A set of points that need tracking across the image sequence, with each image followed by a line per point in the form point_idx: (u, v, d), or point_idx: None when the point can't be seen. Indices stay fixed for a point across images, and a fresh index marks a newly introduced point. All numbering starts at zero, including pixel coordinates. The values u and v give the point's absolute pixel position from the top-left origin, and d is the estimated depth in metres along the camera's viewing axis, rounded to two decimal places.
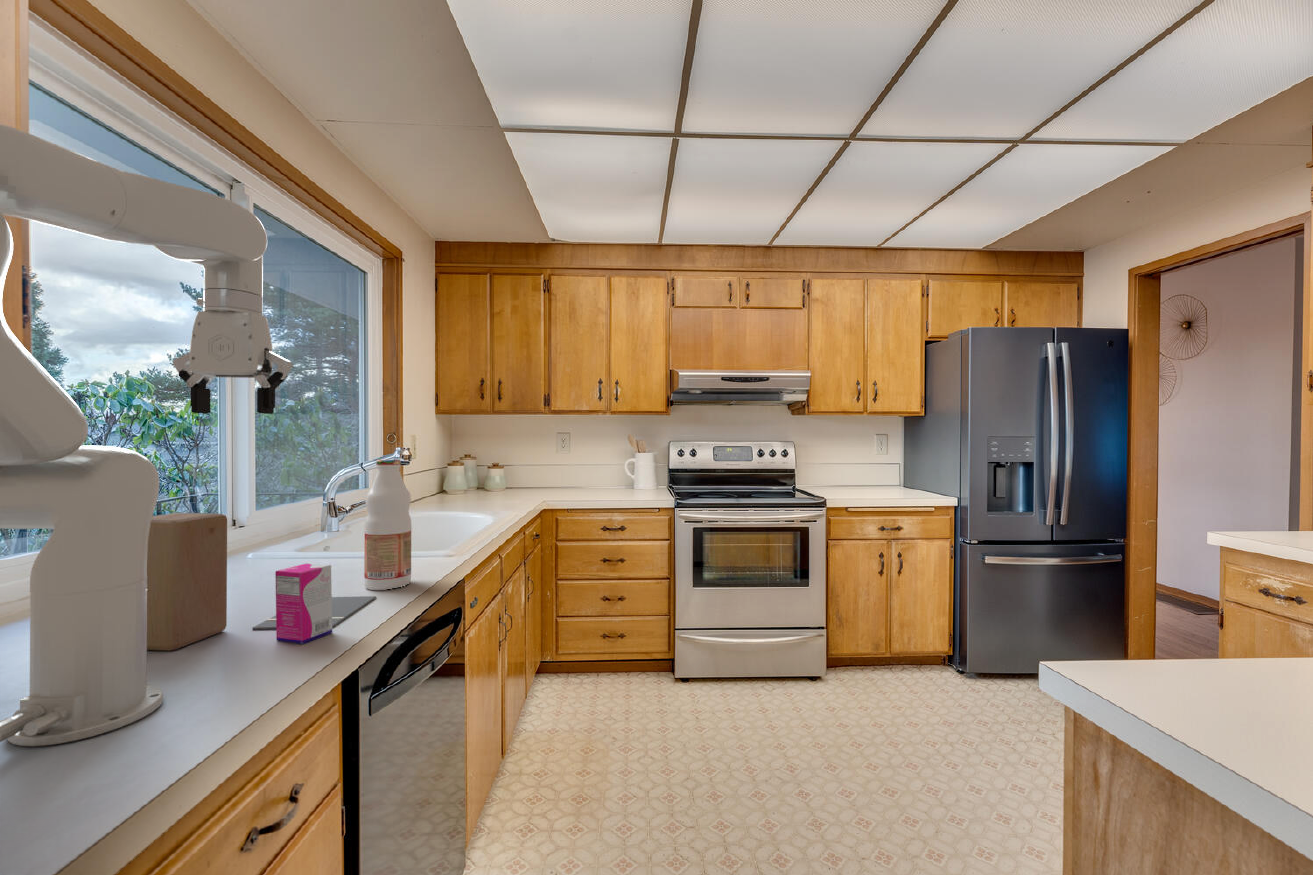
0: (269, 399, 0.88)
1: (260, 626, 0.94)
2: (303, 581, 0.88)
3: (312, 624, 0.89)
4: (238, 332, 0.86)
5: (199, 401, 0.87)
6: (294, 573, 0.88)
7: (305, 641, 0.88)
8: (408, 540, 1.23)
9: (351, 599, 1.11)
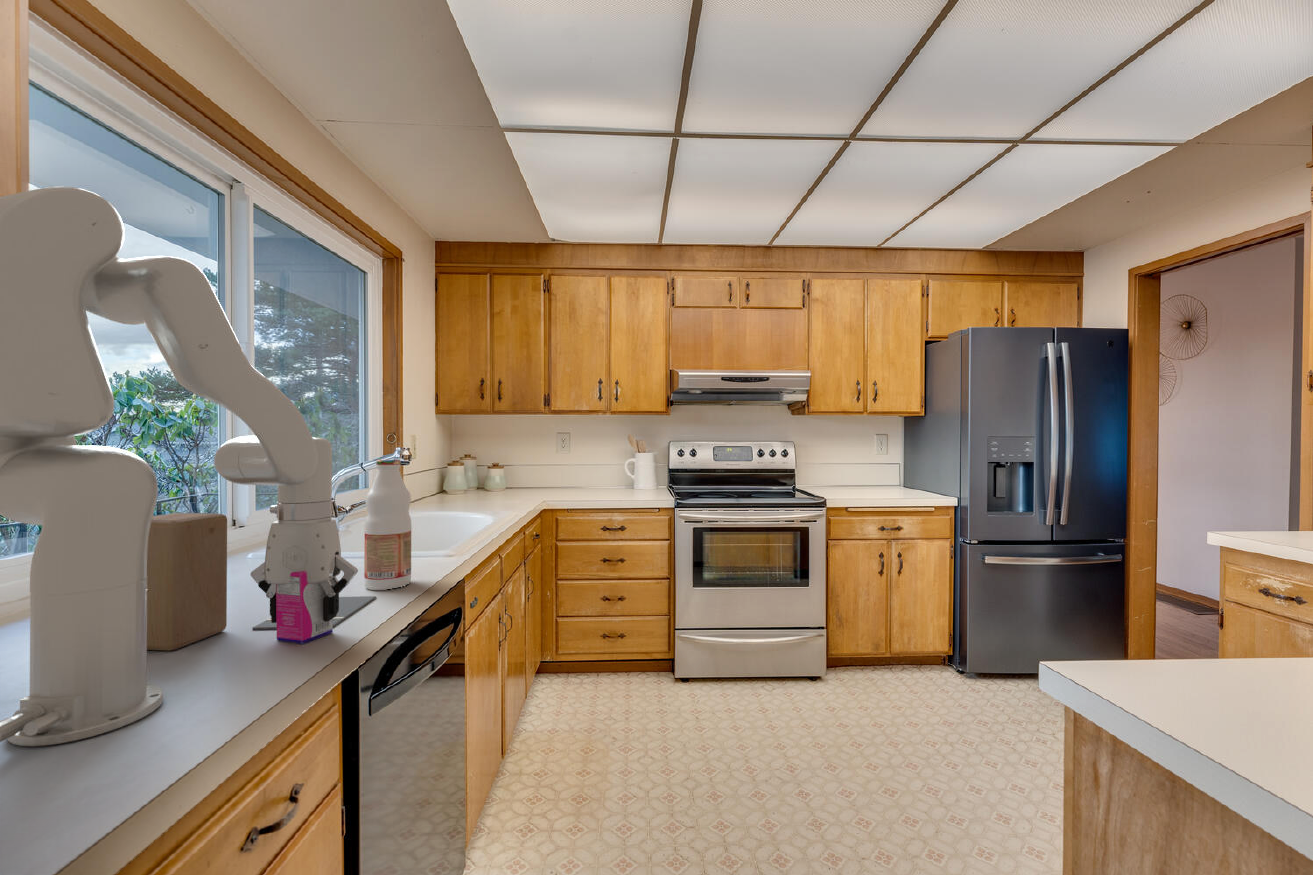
0: (334, 606, 0.91)
1: (260, 626, 0.94)
2: (303, 580, 0.88)
3: (312, 624, 0.89)
4: (311, 543, 0.89)
5: None
6: (294, 573, 0.88)
7: (305, 641, 0.88)
8: (408, 540, 1.23)
9: (351, 599, 1.11)
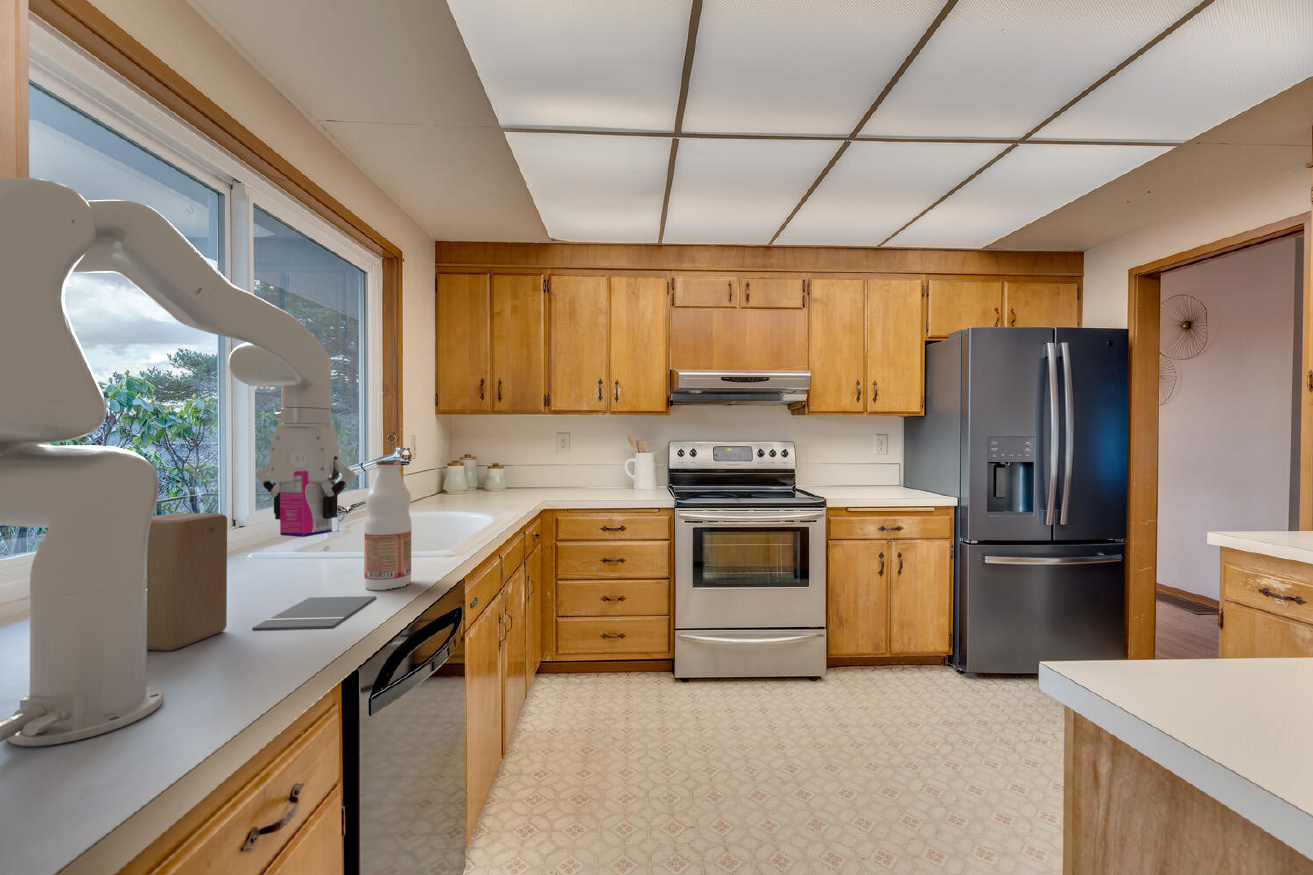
0: (333, 505, 0.98)
1: (260, 626, 0.94)
2: (305, 479, 0.96)
3: (313, 520, 0.97)
4: (312, 445, 0.96)
5: None
6: (297, 472, 0.96)
7: (307, 534, 0.96)
8: (408, 540, 1.23)
9: (351, 599, 1.11)
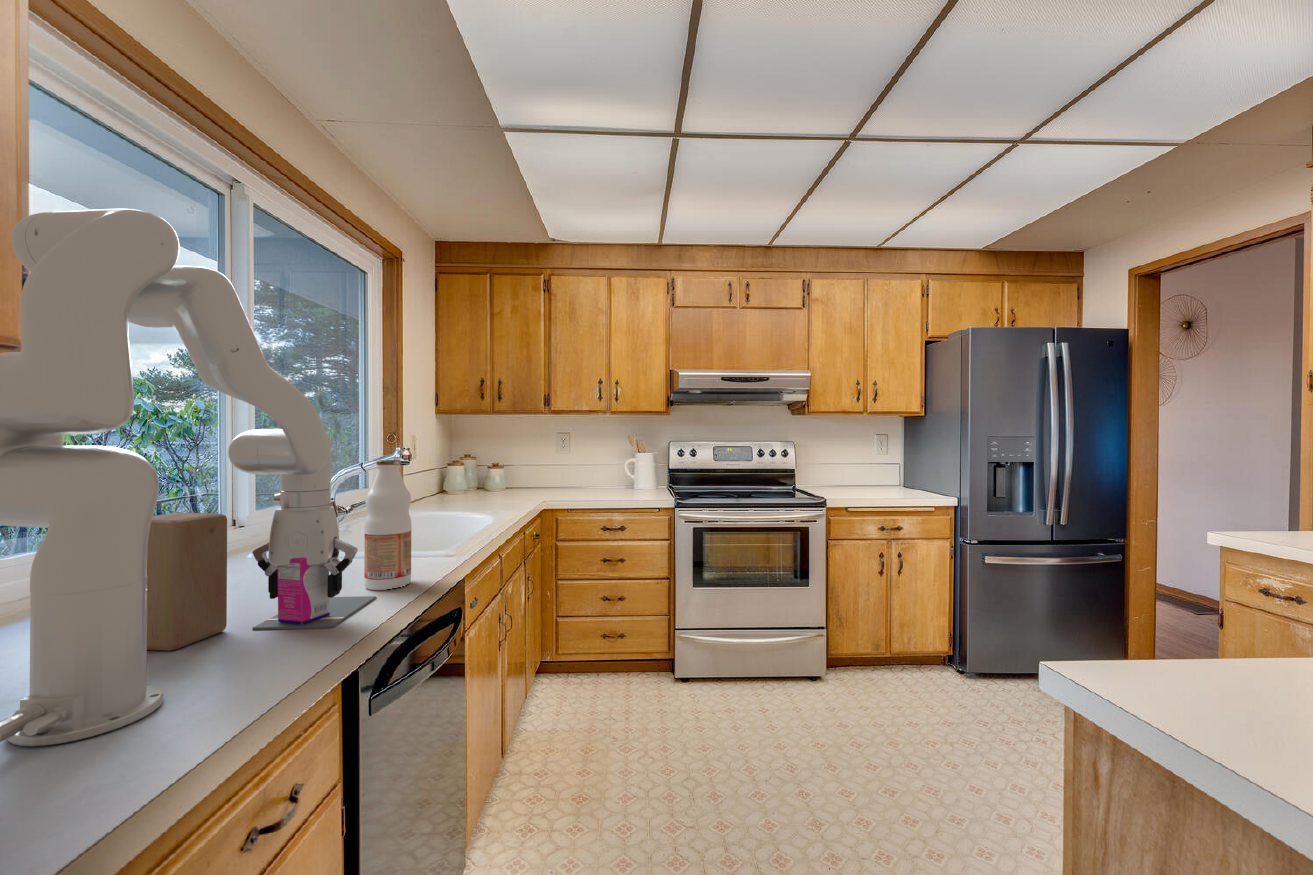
0: (337, 583, 0.98)
1: (260, 626, 0.94)
2: (303, 566, 0.95)
3: (311, 606, 0.97)
4: (311, 528, 0.96)
5: (276, 587, 0.97)
6: (295, 559, 0.95)
7: (305, 622, 0.95)
8: (408, 540, 1.23)
9: (351, 599, 1.11)
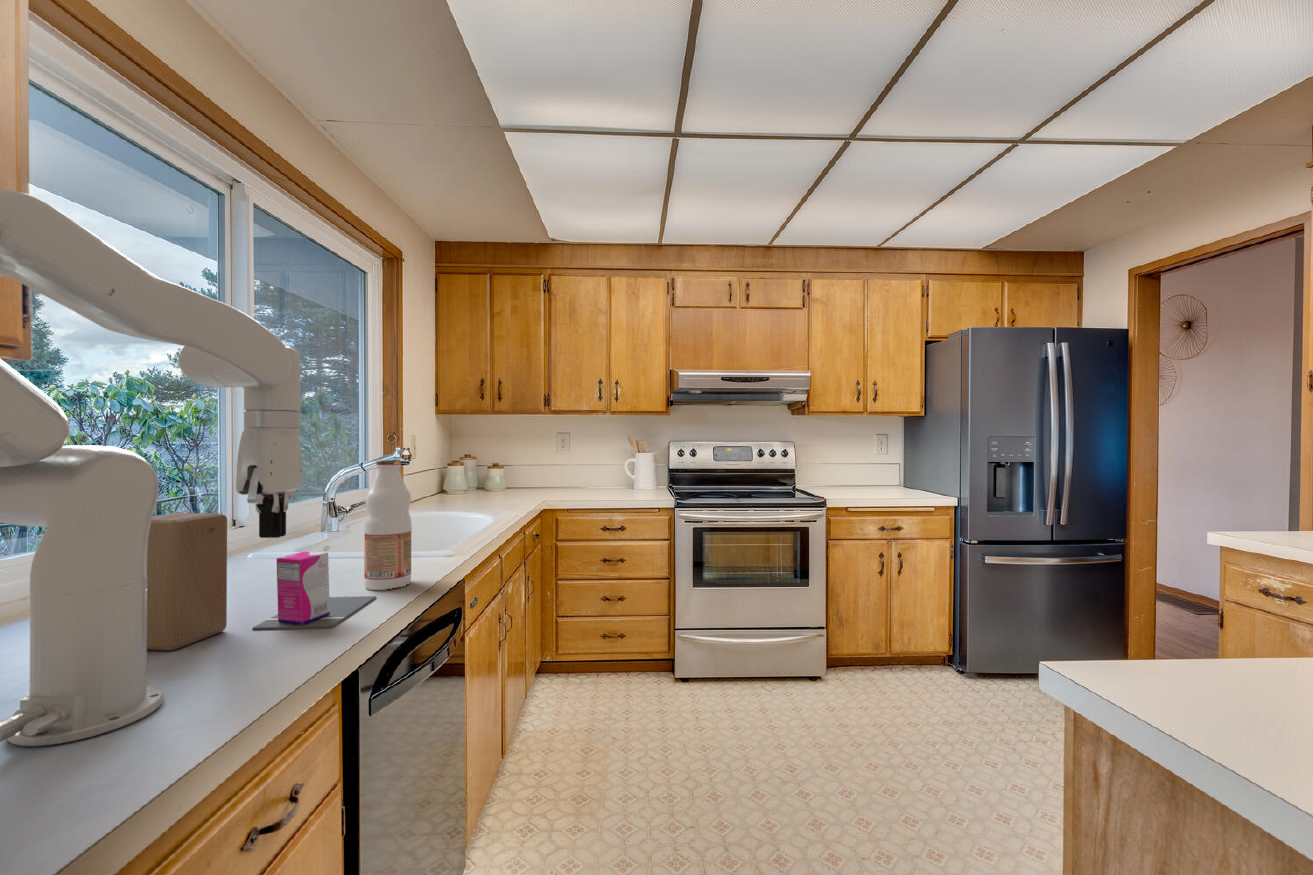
0: (262, 524, 0.87)
1: (260, 626, 0.94)
2: (302, 567, 0.95)
3: (311, 607, 0.97)
4: None
5: None
6: (294, 560, 0.95)
7: (305, 622, 0.95)
8: (408, 540, 1.23)
9: (351, 599, 1.11)
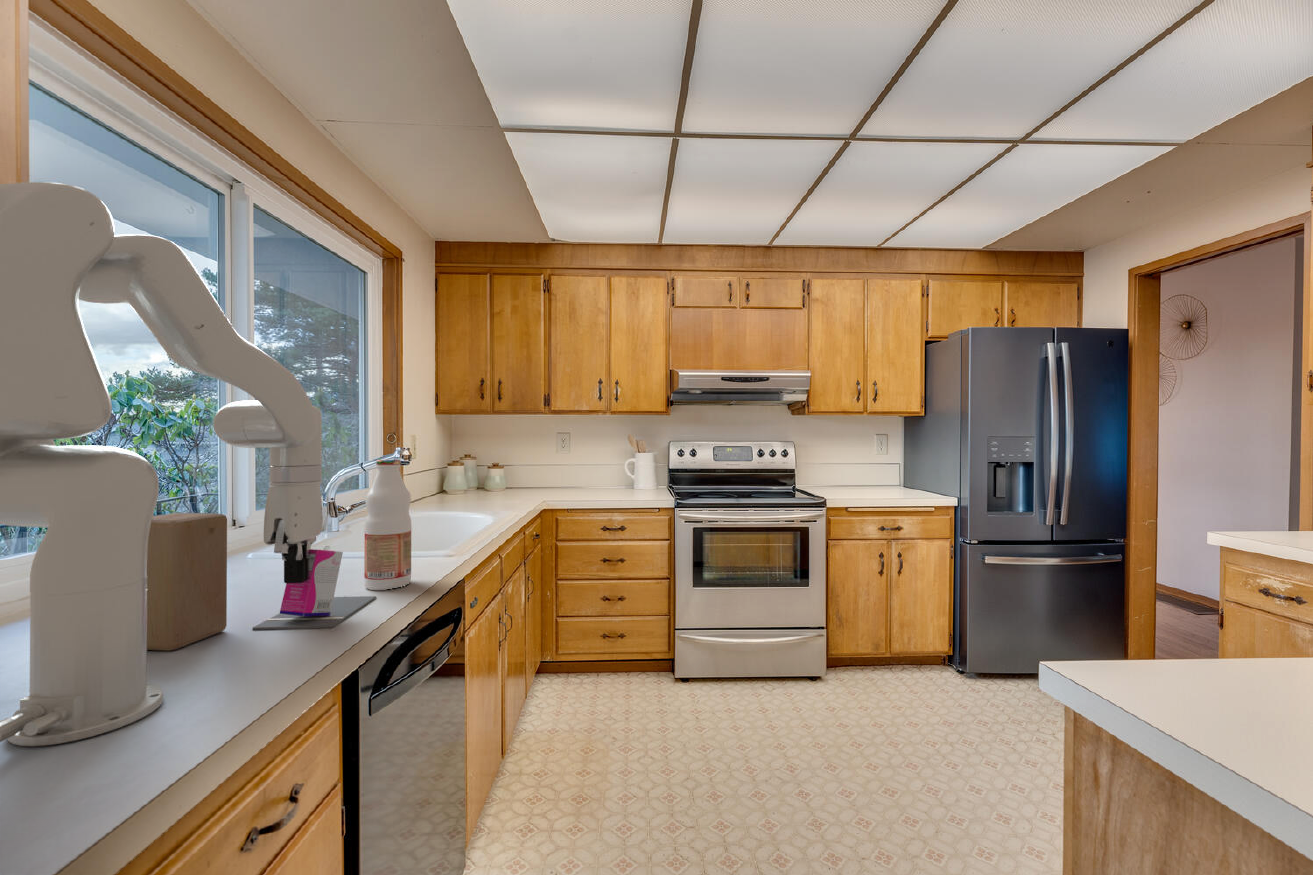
0: (287, 571, 0.94)
1: (260, 626, 0.94)
2: (318, 557, 0.98)
3: (316, 601, 0.97)
4: None
5: None
6: (311, 550, 0.98)
7: (306, 614, 0.96)
8: (408, 540, 1.23)
9: (351, 599, 1.11)
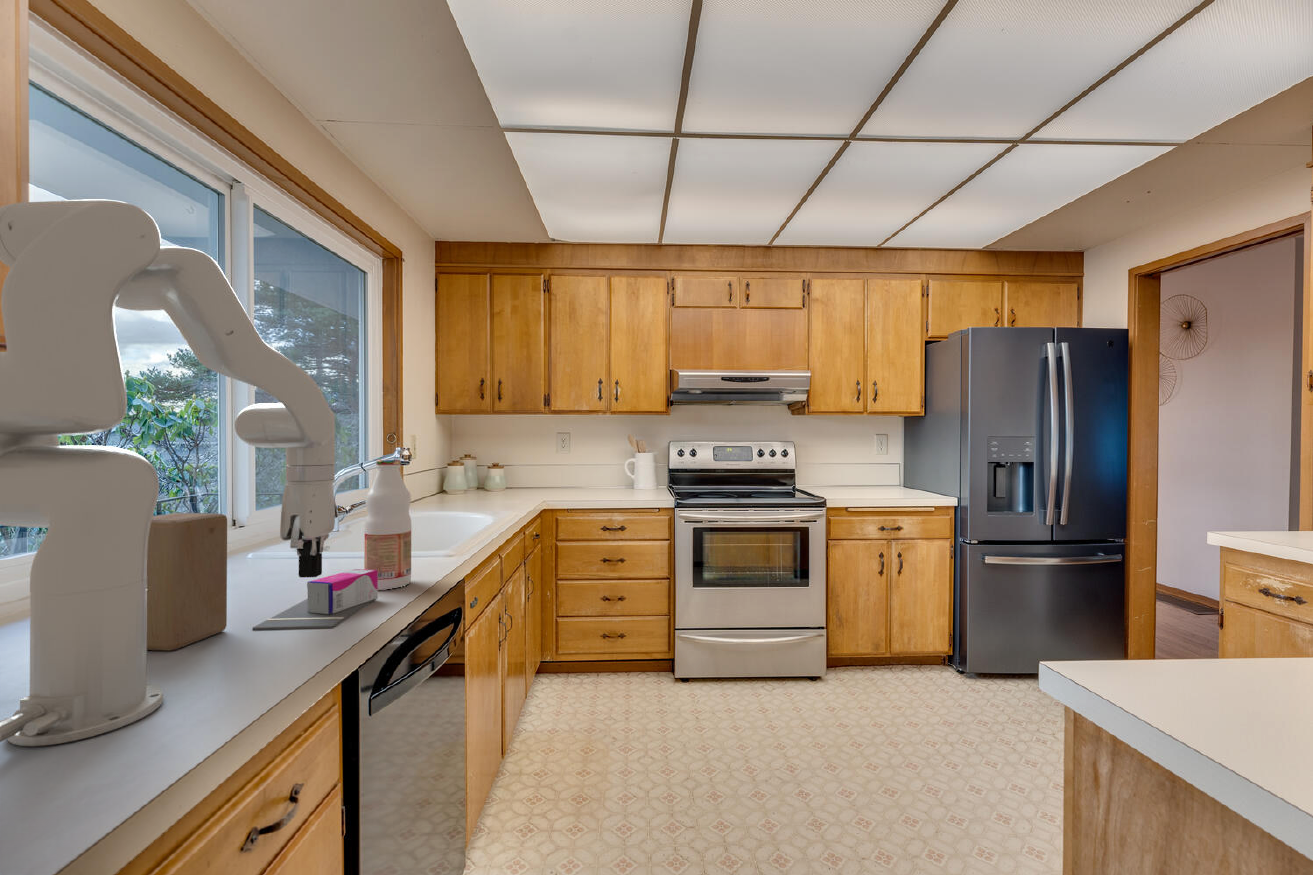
0: (302, 565, 0.99)
1: (260, 626, 0.94)
2: (372, 573, 1.10)
3: (341, 590, 1.03)
4: None
5: None
6: None
7: (331, 586, 1.01)
8: (408, 540, 1.23)
9: None
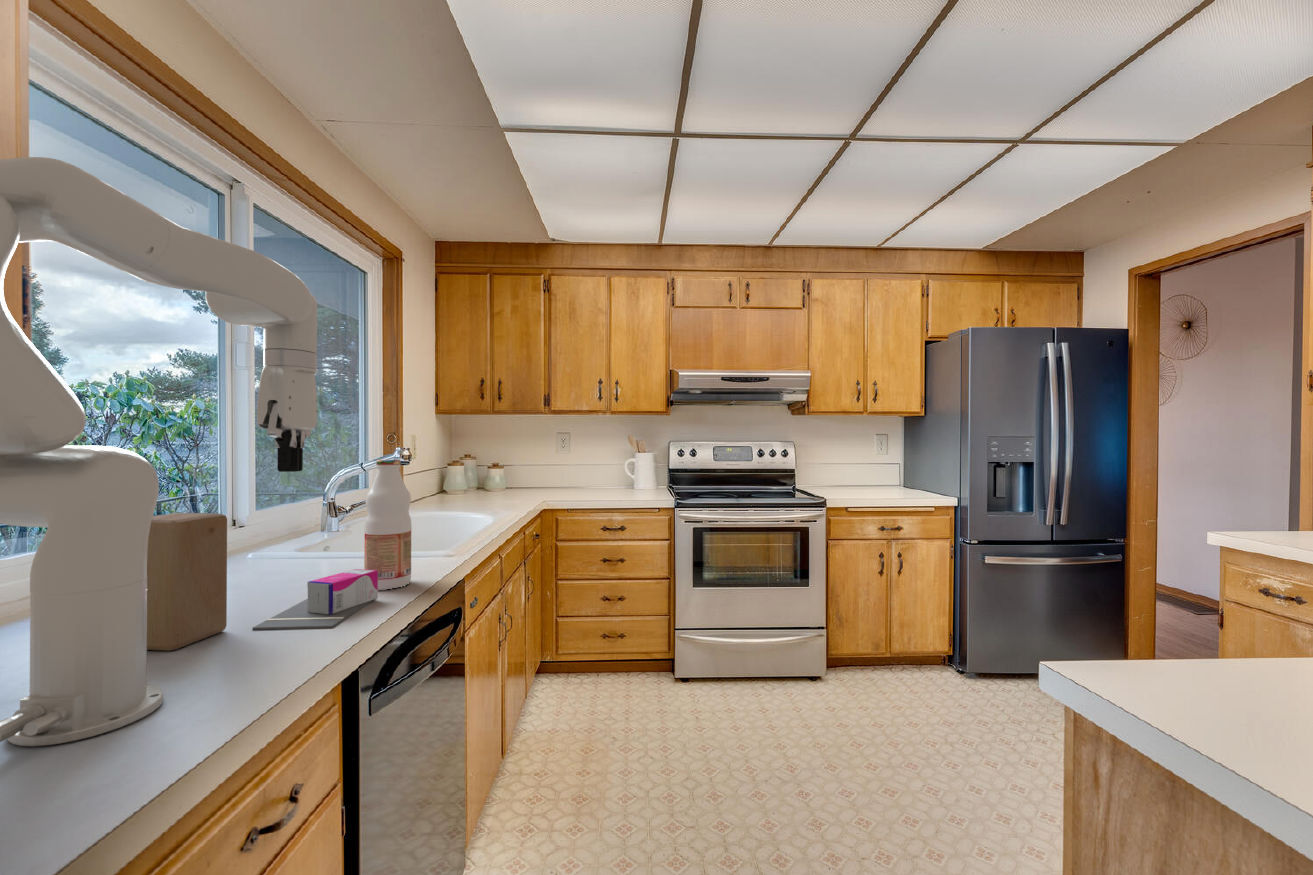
0: (281, 458, 0.92)
1: (260, 626, 0.94)
2: (372, 573, 1.10)
3: (342, 590, 1.03)
4: None
5: None
6: (372, 570, 1.12)
7: (331, 586, 1.01)
8: (408, 540, 1.23)
9: None
